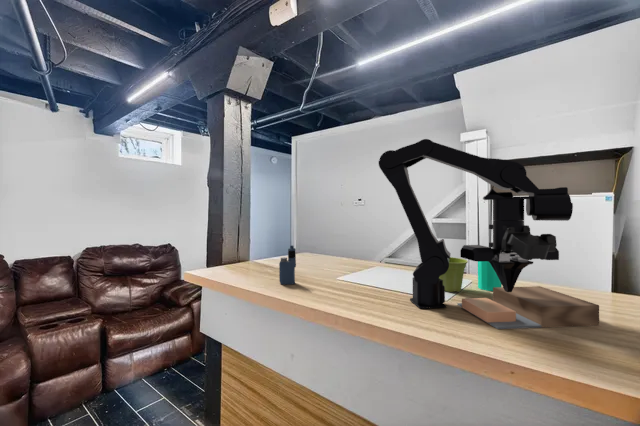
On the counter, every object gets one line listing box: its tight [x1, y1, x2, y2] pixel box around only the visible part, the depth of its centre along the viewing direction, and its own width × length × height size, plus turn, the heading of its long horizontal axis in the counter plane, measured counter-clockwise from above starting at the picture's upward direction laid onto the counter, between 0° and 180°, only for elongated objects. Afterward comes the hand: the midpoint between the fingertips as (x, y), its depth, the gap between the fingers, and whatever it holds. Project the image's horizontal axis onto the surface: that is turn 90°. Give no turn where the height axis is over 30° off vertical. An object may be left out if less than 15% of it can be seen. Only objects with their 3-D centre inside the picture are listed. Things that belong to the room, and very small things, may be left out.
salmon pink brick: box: [461, 297, 516, 323], centre depth 62 cm, size 6×9×2 cm, turn 4°
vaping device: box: [278, 245, 297, 285], centre depth 90 cm, size 3×5×12 cm, turn 89°
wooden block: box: [492, 285, 600, 328], centre depth 63 cm, size 12×14×4 cm
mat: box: [456, 302, 543, 330], centre depth 62 cm, size 9×14×1 cm, turn 4°
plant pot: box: [439, 256, 469, 293], centre depth 82 cm, size 9×9×9 cm
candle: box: [477, 261, 503, 292], centre depth 83 cm, size 6×6×12 cm
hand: (508, 291), depth 62 cm, fingers closed
